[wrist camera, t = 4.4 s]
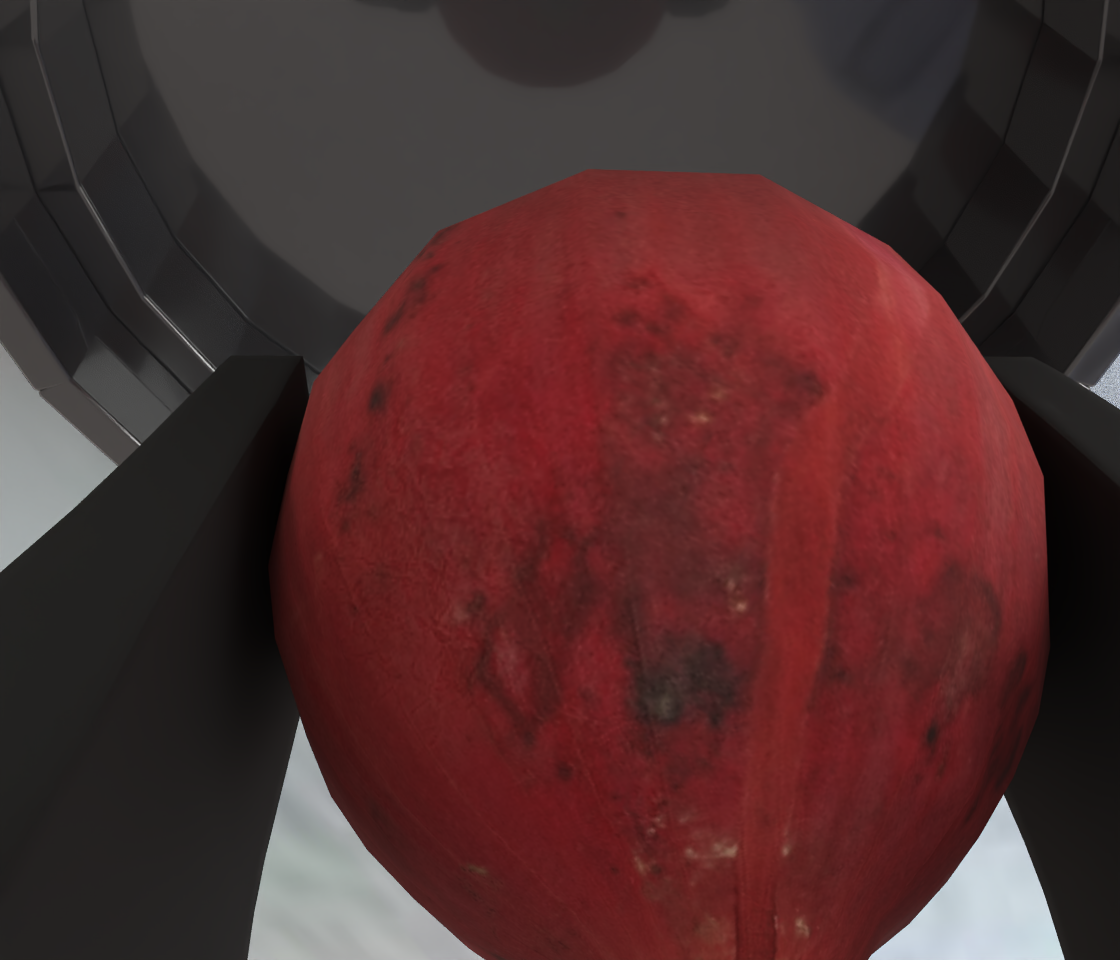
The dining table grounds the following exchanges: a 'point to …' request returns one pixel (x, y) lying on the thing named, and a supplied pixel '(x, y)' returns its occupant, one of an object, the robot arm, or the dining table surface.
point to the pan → (518, 160)
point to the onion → (663, 577)
